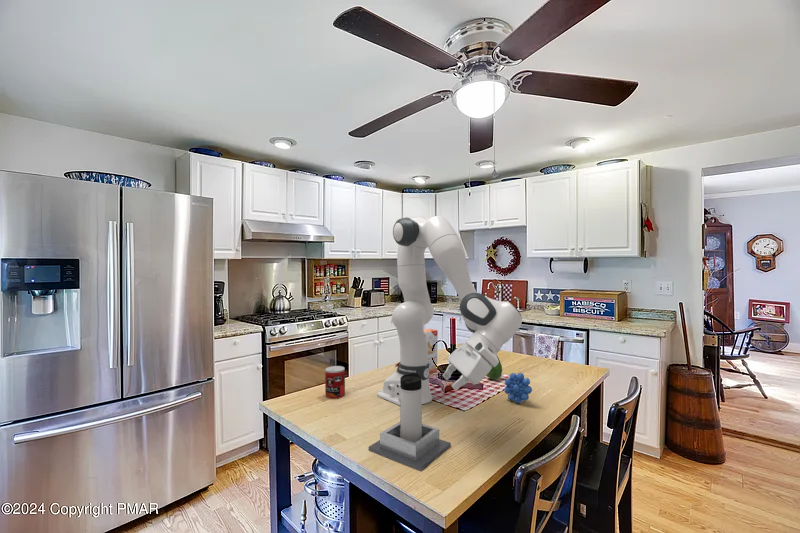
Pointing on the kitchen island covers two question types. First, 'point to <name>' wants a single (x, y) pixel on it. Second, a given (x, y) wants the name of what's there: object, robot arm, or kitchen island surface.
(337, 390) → the canned food
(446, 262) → the robot arm
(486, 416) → the kitchen island surface
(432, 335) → the cracker box
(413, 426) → the travel mug
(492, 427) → the kitchen island surface
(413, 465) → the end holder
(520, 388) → the grapes
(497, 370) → the avocado
